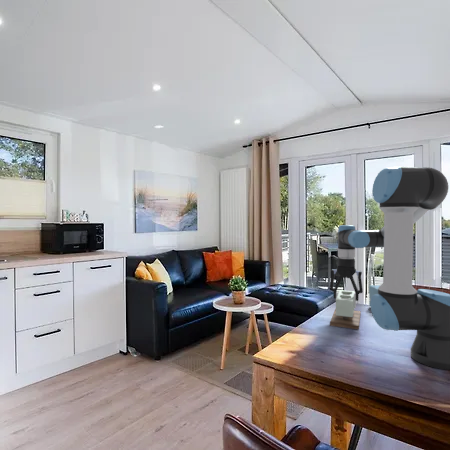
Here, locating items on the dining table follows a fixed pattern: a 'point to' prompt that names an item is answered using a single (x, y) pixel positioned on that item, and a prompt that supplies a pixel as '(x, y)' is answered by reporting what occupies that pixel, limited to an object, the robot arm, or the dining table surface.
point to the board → (346, 320)
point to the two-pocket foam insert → (345, 303)
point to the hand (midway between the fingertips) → (345, 306)
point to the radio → (373, 290)
